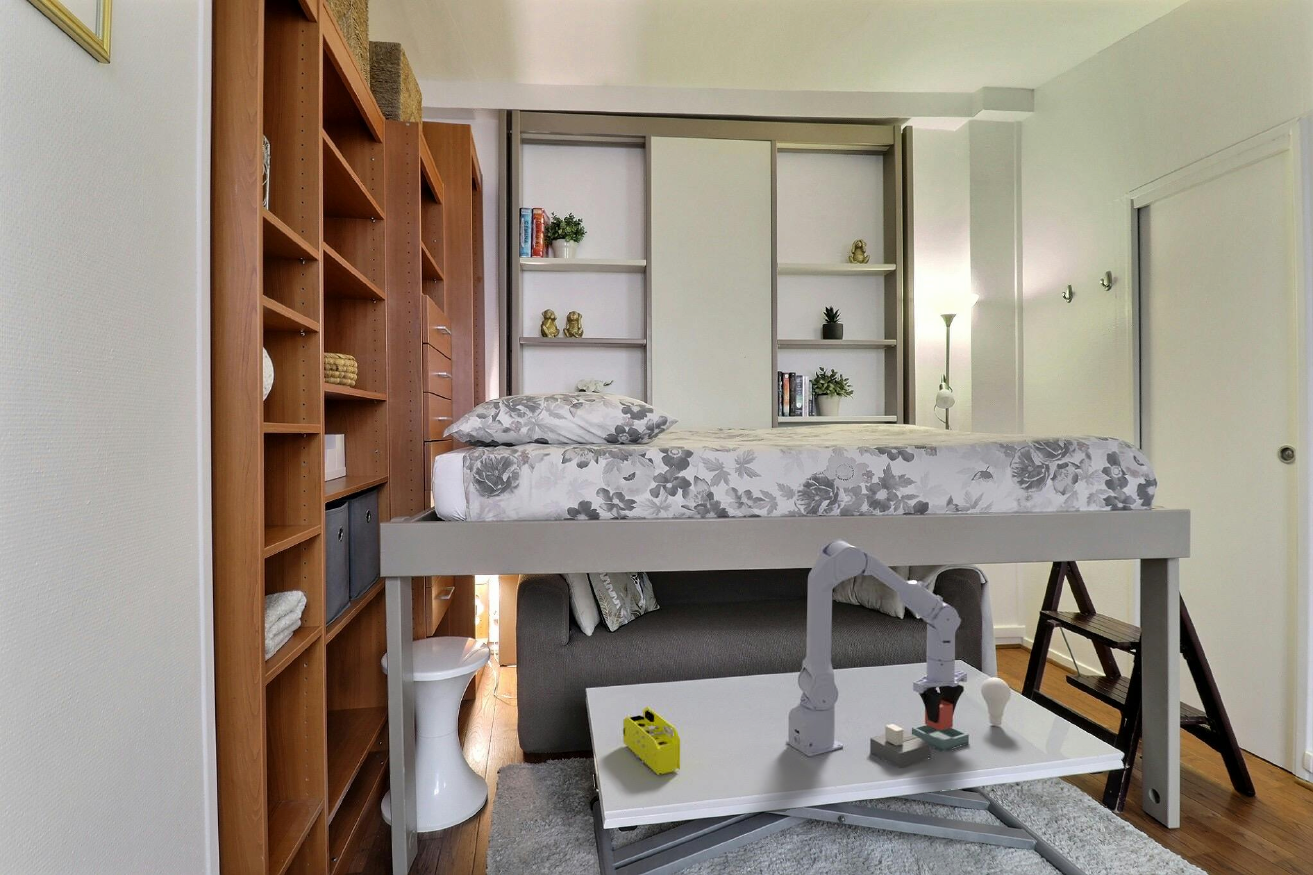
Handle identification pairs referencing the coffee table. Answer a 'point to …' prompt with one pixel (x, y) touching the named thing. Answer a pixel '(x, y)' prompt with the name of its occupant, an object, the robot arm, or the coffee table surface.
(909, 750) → the grey flat block
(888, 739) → the switch
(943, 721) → the block
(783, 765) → the coffee table surface
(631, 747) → the yellow parts caddy
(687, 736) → the coffee table surface
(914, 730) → the tray
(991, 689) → the lightbulb
